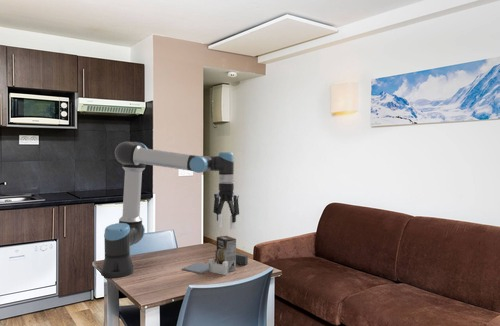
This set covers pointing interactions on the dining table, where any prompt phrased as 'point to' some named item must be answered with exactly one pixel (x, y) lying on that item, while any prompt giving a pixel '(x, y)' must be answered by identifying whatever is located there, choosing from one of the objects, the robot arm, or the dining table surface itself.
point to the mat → (197, 268)
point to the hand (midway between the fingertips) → (226, 227)
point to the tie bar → (239, 259)
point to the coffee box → (226, 251)
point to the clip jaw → (218, 267)
